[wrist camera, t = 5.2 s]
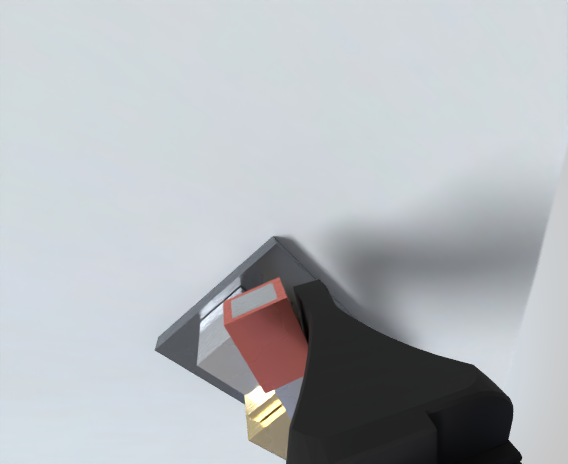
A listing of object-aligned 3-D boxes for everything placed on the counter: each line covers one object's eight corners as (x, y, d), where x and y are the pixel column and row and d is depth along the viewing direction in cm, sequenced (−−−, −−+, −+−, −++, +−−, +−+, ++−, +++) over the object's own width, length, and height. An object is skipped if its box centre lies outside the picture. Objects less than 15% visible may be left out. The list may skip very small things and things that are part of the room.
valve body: (405, 369, 22) (452, 434, 18) (318, 437, 23) (341, 515, 19) (272, 236, 16) (294, 284, 11) (158, 337, 17) (135, 419, 12)
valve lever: (348, 430, 15) (362, 464, 14) (310, 448, 15) (320, 484, 14) (277, 272, 11) (286, 297, 9) (223, 296, 11) (223, 325, 9)
